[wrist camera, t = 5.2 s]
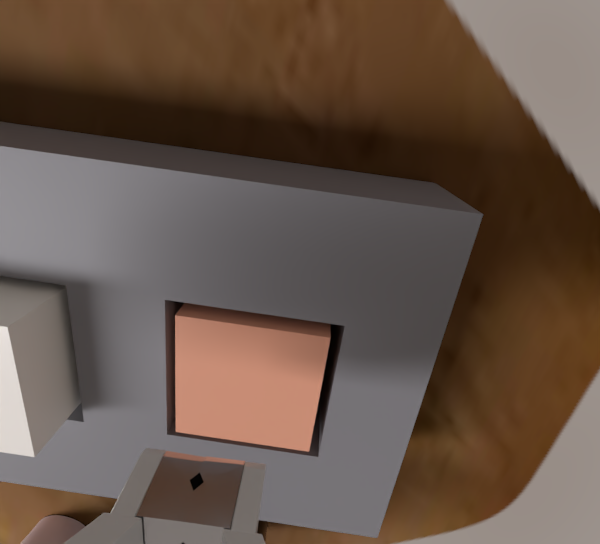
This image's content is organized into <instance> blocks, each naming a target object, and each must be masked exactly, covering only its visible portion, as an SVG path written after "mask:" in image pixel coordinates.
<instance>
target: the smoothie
mask: <svg viewBox="0 0 600 544" xmlns="http://www.w3.org/2000/svg"><path fill="white" fill-rule="evenodd" d="M84 527H85V526H84V525H83V524H82V523H80V522H79V521H77V520H75V519H73V518H70V517H66V516H62V515H50V516H47V517H44V518H43V519H41V520H40V521H39V523H38V524H37V525H36V526H35V527H34V528H33V530H32V531H31V532H30V533H29V534H28V535H27V537H26V538H25V539H24V540H23V541H22V542H21V544H64V543H65V542H66V541H67V540H69V539H70V538H71V537H73V536H74V535H75V534H77V533H78V532H79V531H80V530H82V529H83V528H84Z"/></svg>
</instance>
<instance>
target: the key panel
mask: <svg viewBox="0 0 600 544" xmlns="http://www.w3.org/2000/svg"><path fill="white" fill-rule="evenodd" d="M482 217H483V214H482V213H480V212H479V211H477V210H476V209H474V208H473V207H471V206H470V205H468V204H467V203H465V202H464V201H462V200H461V199H459V198H458V197H456V196H454V195H453V194H451V193H450V192H448V191H447V190H445V189H444V188H442V187H441V186H439V185H438V184H436V183H432V182H425V181H418V180H411V179H404V178H397V177H390V176H383V175H376V174H369V173H361V172H354V171H347V170H340V169H333V168H326V167H319V166H312V165H305V164H298V163H290V162H283V161H276V160H269V159H262V158H255V157H248V156H241V155H234V154H227V153H220V152H212V151H205V150H198V149H191V148H184V147H177V146H170V145H163V144H156V143H149V142H141V141H134V140H127V139H120V138H113V137H106V136H99V135H92V134H85V133H78V132H71V131H63V130H56V129H49V128H42V127H35V126H28V125H21V124H14V123H7V122H0V276H4V277H11V278H18V279H25V280H32V281H39V282H46V283H53V284H59V285H66V288H67V296H68V304H69V311H70V319H71V326H72V334H73V342H74V349H75V357H76V365H77V372H78V380H79V388H80V395H81V403H80V404H79V405H78V407H77V408H76V409H75V410H74V411H73V413H72V414H71V415H70V416H69V417H68V418H67V420H66V421H65V422H64V423H63V424H62V426H61V427H60V428H59V429H58V430H57V431H56V433H55V434H54V435H53V436H52V437H51V439H50V440H49V441H48V442H47V443H46V444H45V446H44V447H43V448H42V449H41V450H40V452H39V453H38V454H37V455H36V456H35V457H30V456H23V455H17V454H10V453H3V452H0V481H3V482H9V483H16V484H23V485H29V486H36V487H43V488H49V489H56V490H63V491H69V492H76V493H82V494H89V495H96V496H102V497H109V498H116V499H118V497H119V495H120V493H121V491H122V489H123V488H124V486H125V484H126V482H127V480H128V478H129V476H130V474H131V472H132V470H133V468H134V466H135V464H136V463H137V461H138V459H139V457H140V455H141V453H142V452H143V451H144V450H145V449H146V448H151V449H158V450H165V451H171V452H177V453H183V454H189V455H195V456H201V457H206V456H207V457H216V458H224V459H232V460H241V461H246V462H252V463H260V464H266V469H265V477H264V485H263V493H262V500H261V508H260V516H259V520H261V521H268V522H275V523H281V524H288V525H295V526H301V527H308V528H314V529H321V530H328V531H334V532H341V533H348V534H354V535H361V536H368V537H374V538H377V537H378V534H379V531H380V528H381V525H382V522H383V519H384V516H385V513H386V510H387V507H388V504H389V500H390V497H391V494H392V491H393V488H394V485H395V482H396V479H397V476H398V473H399V470H400V467H401V464H402V461H403V458H404V455H405V452H406V449H407V446H408V443H409V440H410V436H411V433H412V430H413V427H414V424H415V421H416V418H417V415H418V412H419V409H420V406H421V403H422V400H423V397H424V394H425V391H426V388H427V385H428V382H429V379H430V375H431V372H432V369H433V366H434V363H435V360H436V357H437V354H438V351H439V348H440V345H441V342H442V339H443V336H444V333H445V330H446V327H447V324H448V321H449V318H450V314H451V311H452V308H453V305H454V302H455V299H456V296H457V293H458V290H459V287H460V284H461V281H462V278H463V275H464V272H465V269H466V266H467V263H468V260H469V257H470V254H471V250H472V247H473V244H474V241H475V238H476V235H477V232H478V229H479V226H480V223H481V220H482ZM184 303H190V304H197V305H204V306H211V307H218V308H225V309H232V310H239V311H245V312H252V313H259V314H266V315H273V316H280V317H287V318H294V319H301V320H307V321H314V322H321V323H328V324H330V331H331V338H330V344H329V349H328V354H327V360H326V365H325V370H324V376H323V381H322V386H321V391H320V397H319V402H318V407H317V413H316V418H315V423H314V429H313V434H312V439H311V444H310V450H309V452H307V451H301V450H294V449H287V448H280V447H274V446H267V445H260V444H254V443H247V442H240V441H233V440H227V439H220V438H213V437H207V436H200V435H193V434H186V433H180V432H176V404H175V315H176V313H177V312H178V311H179V309H180V308H181V307H182V305H183V304H184Z"/></svg>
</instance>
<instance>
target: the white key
mask: <svg viewBox="0 0 600 544" xmlns="http://www.w3.org/2000/svg"><path fill="white" fill-rule="evenodd" d="M80 403H81V395H80V388H79V380H78V372H77V365H76V357H75V349H74V342H73V334H72V326H71V319H70V311H69V304H68V296H67V288H66V285H59V284H53V283H46V282H39V281H32V280H25V279H18V278H11V277H4V276H0V452H3V453H10V454H17V455H23V456H30V457H35V456H36V455H37V454H38V453H39V452H40V450H41V449H42V448H43V447H44V446H45V444H46V443H47V442H48V441H49V440H50V439H51V437H52V436H53V435H54V434H55V433H56V431H57V430H58V429H59V428H60V427H61V426H62V424H63V423H64V422H65V421H66V420H67V418H68V417H69V416H70V415H71V414H72V413H73V411H74V410H75V409H76V408H77V407H78V405H79V404H80Z"/></svg>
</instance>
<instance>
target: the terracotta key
mask: <svg viewBox="0 0 600 544" xmlns="http://www.w3.org/2000/svg"><path fill="white" fill-rule="evenodd" d="M330 338H331V331H330V324H328V323H321V322H314V321H307V320H301V319H294V318H287V317H280V316H273V315H266V314H259V313H252V312H245V311H239V310H232V309H225V308H218V307H211V306H204V305H197V304H190V303H184V304H183V305H182V307H181V308H180V309H179V311H178V312H177V313H176V315H175V404H176V432H180V433H186V434H193V435H200V436H207V437H213V438H220V439H227V440H233V441H240V442H247V443H254V444H260V445H267V446H274V447H280V448H287V449H294V450H301V451H307V452H309V450H310V444H311V439H312V434H313V429H314V423H315V418H316V413H317V407H318V402H319V397H320V391H321V386H322V381H323V376H324V370H325V365H326V360H327V354H328V349H329V344H330Z"/></svg>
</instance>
